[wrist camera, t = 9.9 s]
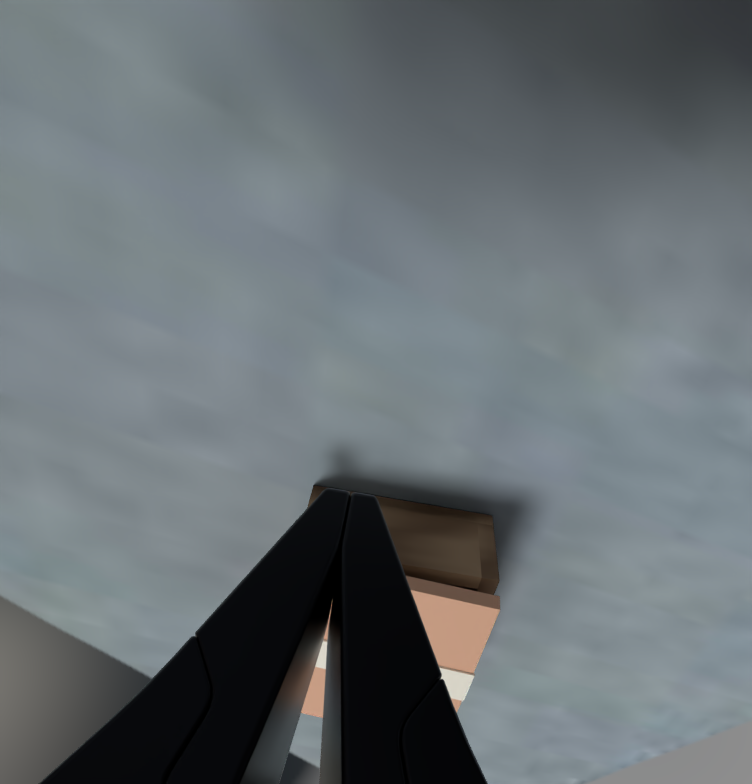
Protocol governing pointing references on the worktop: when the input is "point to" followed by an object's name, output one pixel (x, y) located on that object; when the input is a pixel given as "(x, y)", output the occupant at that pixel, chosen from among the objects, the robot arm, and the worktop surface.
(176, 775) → the robot arm
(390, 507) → the walnut box
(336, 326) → the worktop surface
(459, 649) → the lid
